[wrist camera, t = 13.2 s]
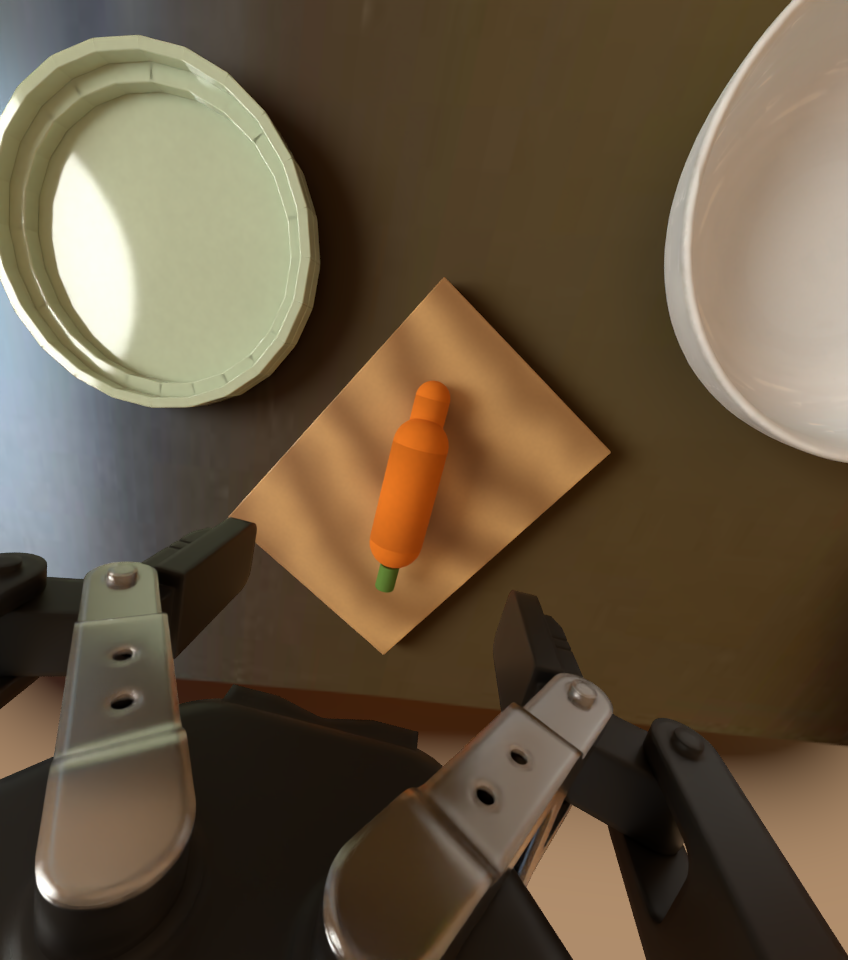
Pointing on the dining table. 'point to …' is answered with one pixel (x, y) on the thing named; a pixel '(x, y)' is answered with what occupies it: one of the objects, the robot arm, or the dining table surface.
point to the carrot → (410, 484)
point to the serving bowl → (771, 236)
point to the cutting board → (464, 482)
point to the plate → (153, 223)
